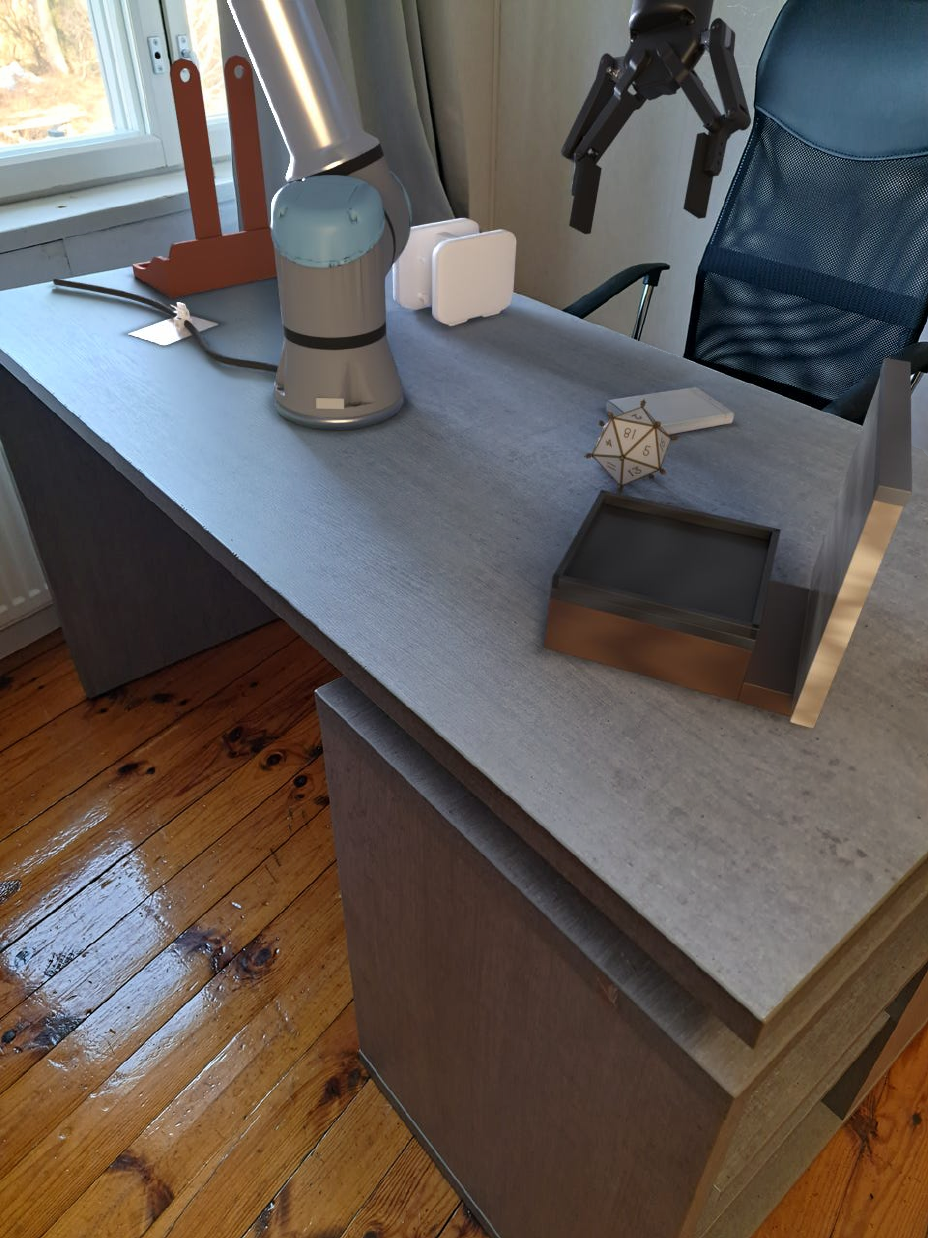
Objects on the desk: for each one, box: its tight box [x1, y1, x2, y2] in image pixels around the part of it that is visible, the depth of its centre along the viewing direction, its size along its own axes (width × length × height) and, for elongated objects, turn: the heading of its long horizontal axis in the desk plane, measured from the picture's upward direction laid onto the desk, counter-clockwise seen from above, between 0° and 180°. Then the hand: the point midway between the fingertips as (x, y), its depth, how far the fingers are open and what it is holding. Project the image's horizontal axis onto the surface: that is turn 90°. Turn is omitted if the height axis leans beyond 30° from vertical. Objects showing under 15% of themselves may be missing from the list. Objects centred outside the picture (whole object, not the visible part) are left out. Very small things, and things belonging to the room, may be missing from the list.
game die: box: [583, 399, 680, 494], centre depth 87 cm, size 9×8×10 cm
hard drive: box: [605, 386, 735, 436], centre depth 101 cm, size 2×8×12 cm
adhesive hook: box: [169, 301, 193, 331], centre depth 119 cm, size 3×3×3 cm
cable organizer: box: [392, 217, 517, 327], centre depth 125 cm, size 15×11×12 cm
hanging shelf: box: [131, 54, 277, 299], centre depth 130 cm, size 24×13×30 cm, turn 130°
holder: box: [543, 357, 913, 729], centre depth 64 cm, size 20×20×21 cm
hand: (633, 222), depth 84 cm, fingers open, 13 cm apart
